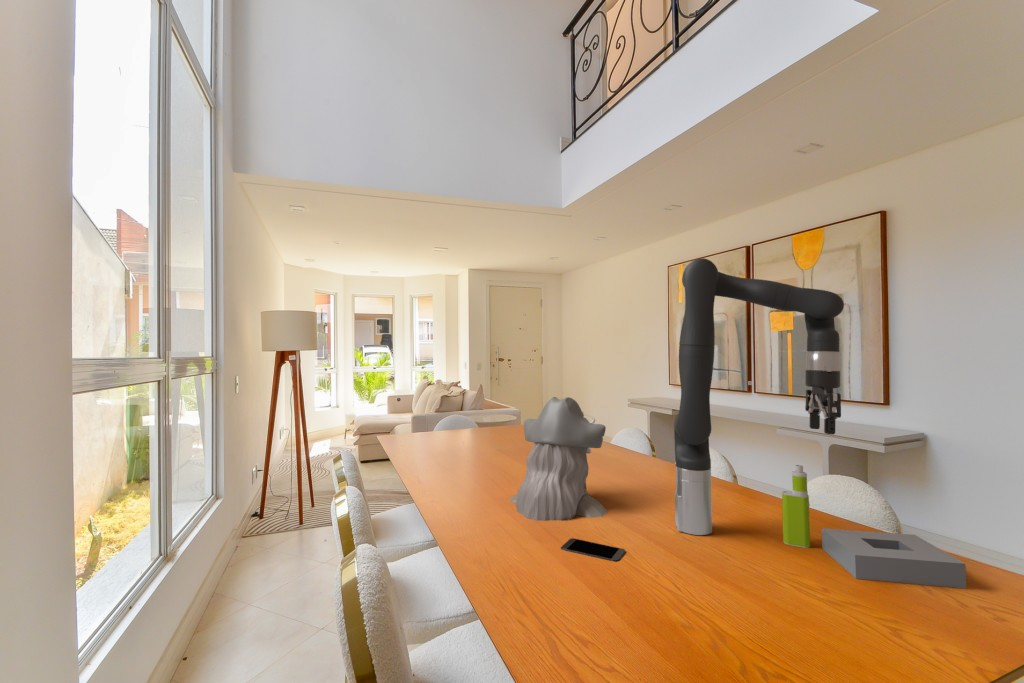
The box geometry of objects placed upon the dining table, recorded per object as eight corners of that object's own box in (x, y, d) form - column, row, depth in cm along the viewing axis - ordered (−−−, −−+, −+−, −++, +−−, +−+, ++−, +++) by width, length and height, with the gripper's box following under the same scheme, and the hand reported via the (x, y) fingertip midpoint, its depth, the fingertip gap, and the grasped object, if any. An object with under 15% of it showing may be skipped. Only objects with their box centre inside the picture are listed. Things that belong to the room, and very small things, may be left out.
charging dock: (855, 578, 98) (855, 555, 98) (822, 548, 113) (821, 528, 114) (966, 588, 93) (965, 563, 94) (915, 555, 109) (914, 534, 109)
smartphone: (618, 564, 106) (618, 560, 106) (559, 550, 113) (559, 547, 113) (627, 552, 112) (627, 549, 112) (570, 540, 120) (570, 537, 120)
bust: (624, 499, 154) (623, 396, 156) (584, 531, 126) (583, 404, 127) (537, 485, 172) (537, 392, 174) (485, 509, 144) (485, 399, 145)
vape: (811, 548, 113) (808, 468, 114) (783, 544, 116) (781, 465, 117) (810, 543, 116) (808, 465, 117) (783, 539, 119) (781, 462, 120)
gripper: (795, 368, 126) (794, 426, 126) (819, 369, 112) (818, 434, 112) (825, 369, 125) (825, 428, 124) (853, 370, 111) (852, 436, 110)
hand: (821, 431), depth 118 cm, fingers open, 8 cm apart
